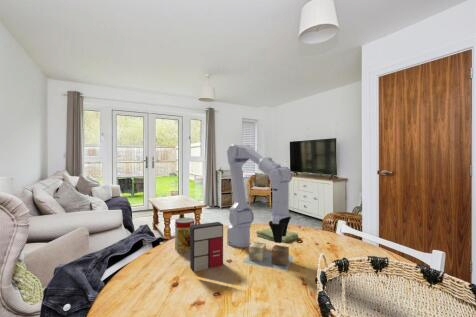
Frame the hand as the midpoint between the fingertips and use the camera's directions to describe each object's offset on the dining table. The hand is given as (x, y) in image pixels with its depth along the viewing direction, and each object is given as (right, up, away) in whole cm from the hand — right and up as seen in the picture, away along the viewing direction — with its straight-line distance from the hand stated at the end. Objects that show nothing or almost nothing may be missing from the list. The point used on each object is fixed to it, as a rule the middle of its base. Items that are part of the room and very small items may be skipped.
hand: (280, 239), depth 83 cm
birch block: (-8, -8, +3) cm, 12 cm away
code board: (-4, -9, +3) cm, 10 cm away
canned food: (-38, -9, +15) cm, 42 cm away
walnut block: (0, -8, 0) cm, 8 cm away
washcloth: (+4, -10, +30) cm, 32 cm away
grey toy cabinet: (-26, -9, -3) cm, 28 cm away
